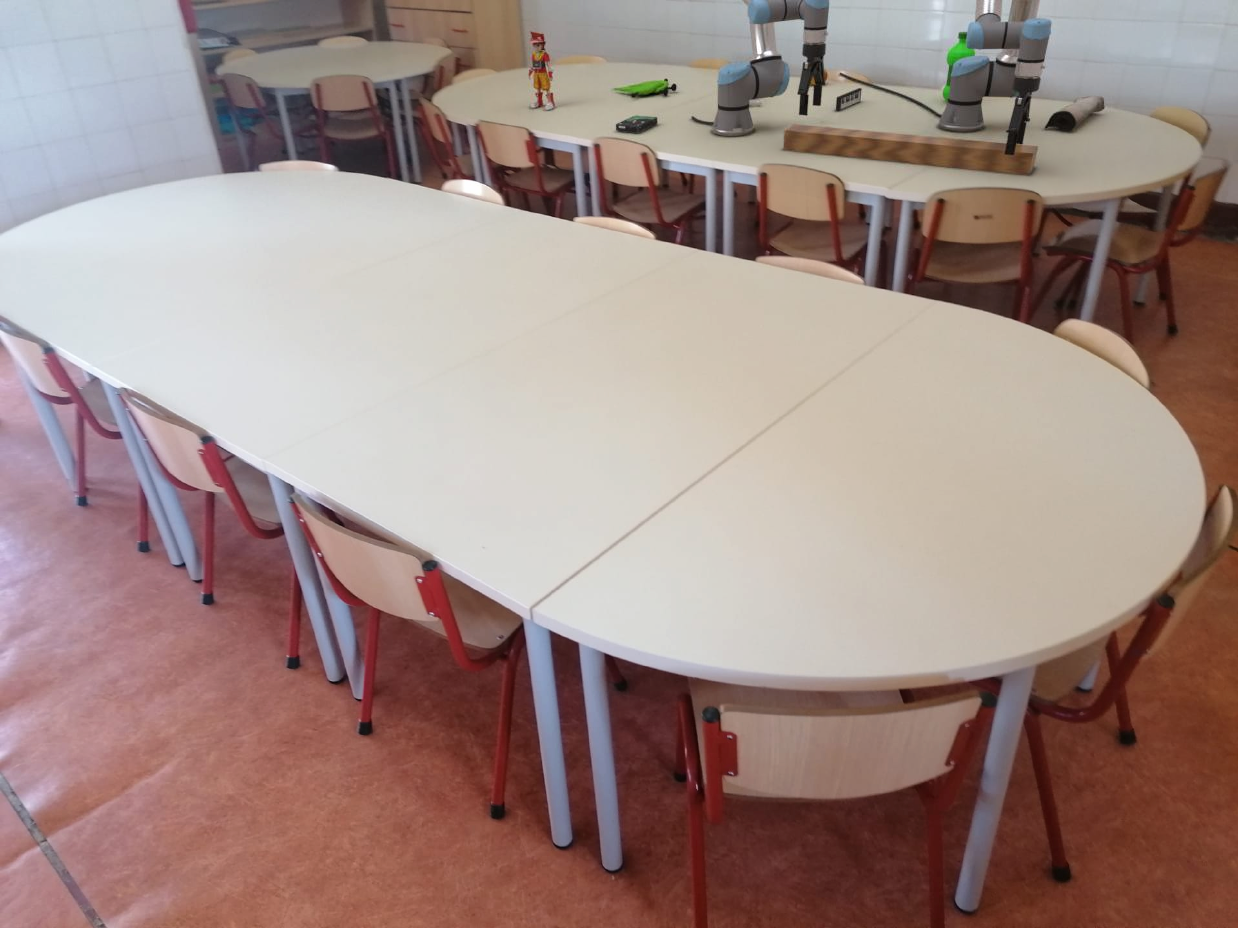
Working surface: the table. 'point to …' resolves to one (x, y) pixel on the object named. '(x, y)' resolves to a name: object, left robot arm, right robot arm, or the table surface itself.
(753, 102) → the anatomical model
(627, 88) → the toy
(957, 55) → the plastic bottle
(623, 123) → the disk drive
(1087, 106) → the rolled mat
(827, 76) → the fruit
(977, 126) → the right robot arm
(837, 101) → the midi keyboard
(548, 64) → the toy
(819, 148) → the slab
